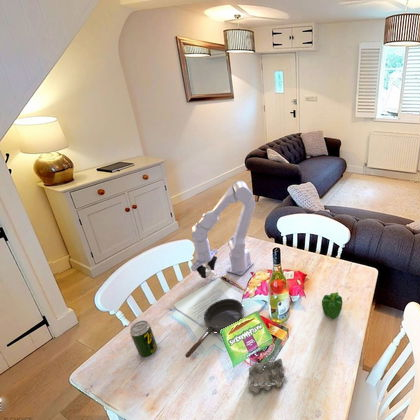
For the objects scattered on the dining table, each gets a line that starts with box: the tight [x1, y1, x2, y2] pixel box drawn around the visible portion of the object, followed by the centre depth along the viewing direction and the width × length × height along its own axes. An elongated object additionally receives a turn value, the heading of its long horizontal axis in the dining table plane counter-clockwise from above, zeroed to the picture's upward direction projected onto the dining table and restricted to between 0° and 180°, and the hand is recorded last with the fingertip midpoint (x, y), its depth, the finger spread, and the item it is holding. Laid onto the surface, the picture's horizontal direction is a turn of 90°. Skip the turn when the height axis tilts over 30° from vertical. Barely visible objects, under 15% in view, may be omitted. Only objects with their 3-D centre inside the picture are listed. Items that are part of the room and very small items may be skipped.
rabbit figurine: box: [197, 263, 217, 281], centre depth 125 cm, size 6×4×8 cm
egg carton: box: [248, 358, 285, 394], centre depth 83 cm, size 11×8×4 cm
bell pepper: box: [321, 291, 343, 320], centre depth 106 cm, size 8×8×10 cm
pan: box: [203, 298, 245, 335], centre depth 104 cm, size 14×14×4 cm
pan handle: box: [184, 327, 213, 359], centre depth 92 cm, size 12×2×2 cm, turn 161°
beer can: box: [129, 320, 158, 359], centre depth 89 cm, size 5×5×12 cm
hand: (207, 274), depth 125 cm, fingers closed on rabbit figurine, 5 cm apart
